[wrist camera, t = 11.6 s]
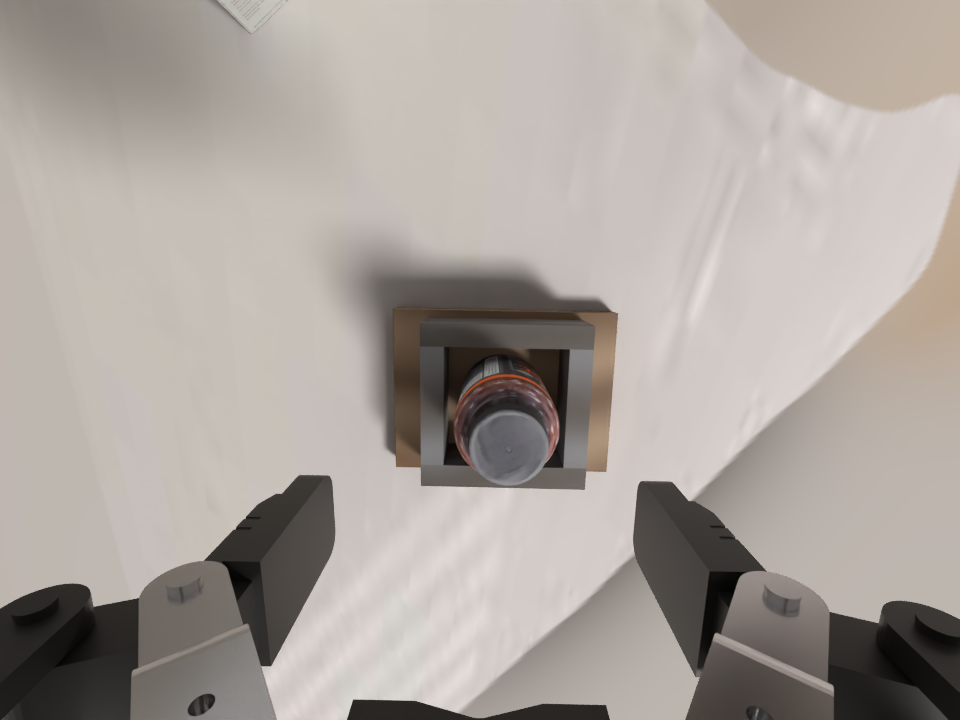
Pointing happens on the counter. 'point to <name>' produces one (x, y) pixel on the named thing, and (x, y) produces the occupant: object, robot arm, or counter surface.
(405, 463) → the socket stand
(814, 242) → the counter surface
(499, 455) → the supplement bottle
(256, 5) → the supplement box
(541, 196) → the counter surface
